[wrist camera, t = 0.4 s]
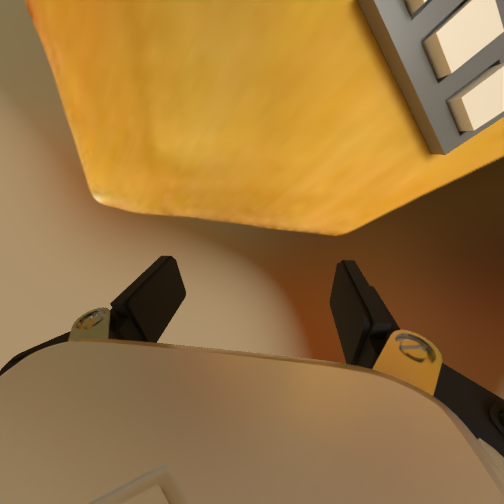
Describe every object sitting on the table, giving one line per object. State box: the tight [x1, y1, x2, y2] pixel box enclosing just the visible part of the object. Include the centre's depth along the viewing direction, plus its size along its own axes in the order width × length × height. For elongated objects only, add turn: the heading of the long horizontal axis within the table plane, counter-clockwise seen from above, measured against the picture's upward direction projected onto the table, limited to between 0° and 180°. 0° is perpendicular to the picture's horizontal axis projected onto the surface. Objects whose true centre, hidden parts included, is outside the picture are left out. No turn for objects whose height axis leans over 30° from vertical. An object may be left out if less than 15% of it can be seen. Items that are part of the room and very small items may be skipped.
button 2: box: [446, 63, 504, 132], centre depth 24 cm, size 5×5×3 cm
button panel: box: [357, 0, 504, 155], centre depth 19 cm, size 24×14×11 cm, turn 43°
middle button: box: [421, 0, 504, 79], centre depth 22 cm, size 5×5×3 cm
